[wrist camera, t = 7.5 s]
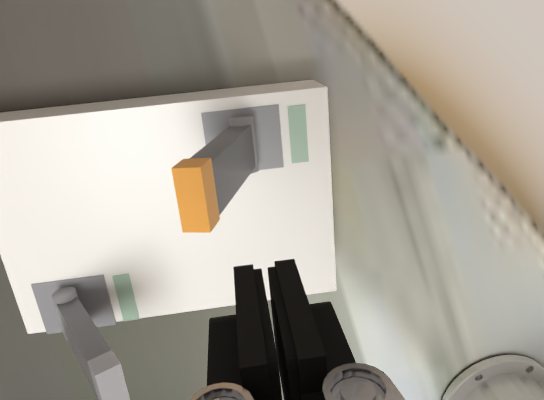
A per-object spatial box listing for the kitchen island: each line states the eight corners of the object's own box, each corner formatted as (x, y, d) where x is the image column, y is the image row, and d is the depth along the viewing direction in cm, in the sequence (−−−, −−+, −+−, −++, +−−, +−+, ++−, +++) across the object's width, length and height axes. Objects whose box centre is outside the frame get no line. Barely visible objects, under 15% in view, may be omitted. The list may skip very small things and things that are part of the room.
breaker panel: (312, 79, 35) (327, 86, 30) (323, 262, 41) (336, 293, 36) (-8, 113, 33) (-45, 127, 28) (51, 299, 39) (28, 336, 34)
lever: (72, 284, 33) (121, 359, 25) (84, 324, 34) (134, 409, 26) (49, 292, 32) (92, 373, 24) (62, 333, 34) (107, 424, 25)
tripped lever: (256, 114, 30) (202, 163, 20) (261, 166, 31) (213, 236, 21) (233, 115, 30) (168, 164, 20) (239, 167, 31) (181, 236, 21)
